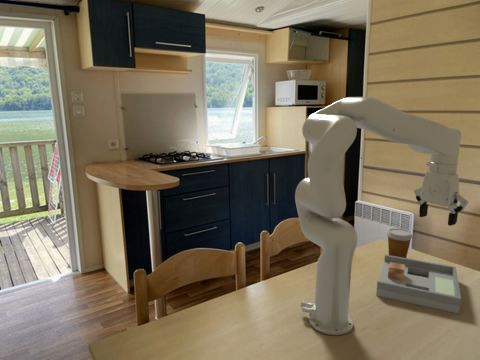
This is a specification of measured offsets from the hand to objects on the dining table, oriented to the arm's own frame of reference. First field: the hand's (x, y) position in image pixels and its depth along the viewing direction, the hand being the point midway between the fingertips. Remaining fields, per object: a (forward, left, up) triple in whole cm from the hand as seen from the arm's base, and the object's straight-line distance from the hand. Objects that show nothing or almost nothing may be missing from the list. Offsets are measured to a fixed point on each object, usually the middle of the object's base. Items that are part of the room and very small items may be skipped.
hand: (436, 220), depth 119 cm
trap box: (-4, +4, -26) cm, 27 cm away
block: (-11, +4, -24) cm, 26 cm away
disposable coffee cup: (-12, +26, -26) cm, 39 cm away
